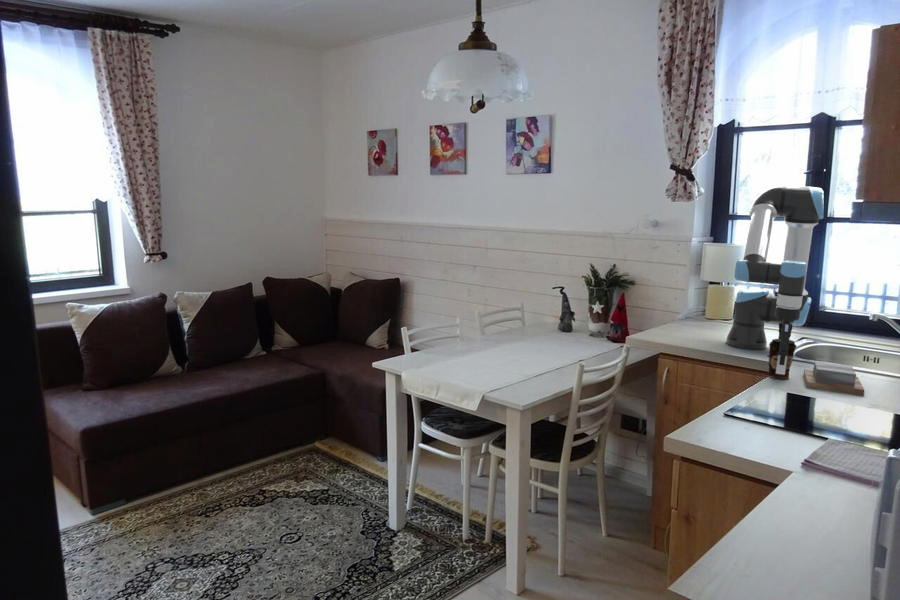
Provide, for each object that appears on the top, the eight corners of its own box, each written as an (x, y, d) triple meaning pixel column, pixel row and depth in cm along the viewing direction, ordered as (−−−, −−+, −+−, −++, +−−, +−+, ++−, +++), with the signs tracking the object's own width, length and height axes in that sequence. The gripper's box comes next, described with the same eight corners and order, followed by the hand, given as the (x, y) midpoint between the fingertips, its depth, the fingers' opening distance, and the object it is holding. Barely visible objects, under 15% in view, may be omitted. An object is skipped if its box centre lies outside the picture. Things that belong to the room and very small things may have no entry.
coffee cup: (795, 382, 217) (801, 344, 215) (769, 379, 219) (774, 342, 216) (787, 374, 226) (792, 338, 223) (762, 372, 227) (767, 336, 225)
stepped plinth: (803, 374, 226) (805, 358, 225) (856, 382, 220) (859, 365, 218) (806, 387, 212) (809, 369, 211) (863, 396, 205) (866, 377, 204)
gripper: (775, 300, 230) (767, 359, 234) (776, 311, 209) (767, 376, 213) (798, 302, 227) (790, 362, 231) (802, 314, 205) (793, 380, 209)
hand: (779, 369), depth 222 cm, fingers open, 12 cm apart
